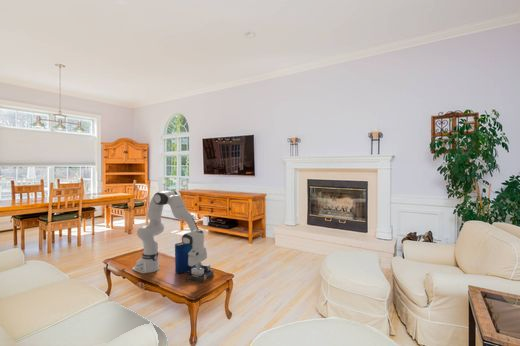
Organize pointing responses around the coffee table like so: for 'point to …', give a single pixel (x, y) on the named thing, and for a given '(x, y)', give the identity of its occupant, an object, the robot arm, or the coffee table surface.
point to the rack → (207, 274)
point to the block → (197, 272)
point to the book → (182, 258)
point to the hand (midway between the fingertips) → (197, 268)
